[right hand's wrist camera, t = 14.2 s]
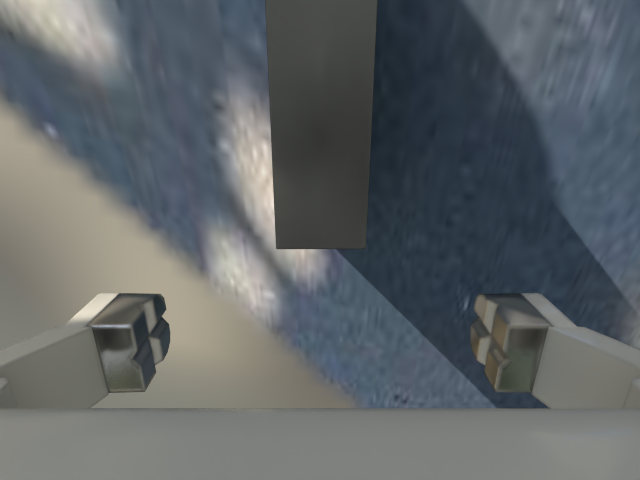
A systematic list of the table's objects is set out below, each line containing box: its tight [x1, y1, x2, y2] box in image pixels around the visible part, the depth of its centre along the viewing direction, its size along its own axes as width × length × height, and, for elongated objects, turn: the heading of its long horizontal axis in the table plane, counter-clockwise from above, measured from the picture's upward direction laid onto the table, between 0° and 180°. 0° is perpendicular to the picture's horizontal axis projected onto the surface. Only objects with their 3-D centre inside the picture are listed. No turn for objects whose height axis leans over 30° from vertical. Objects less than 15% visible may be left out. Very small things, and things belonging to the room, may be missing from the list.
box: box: [265, 0, 378, 249], centre depth 27 cm, size 20×6×11 cm, turn 0°
